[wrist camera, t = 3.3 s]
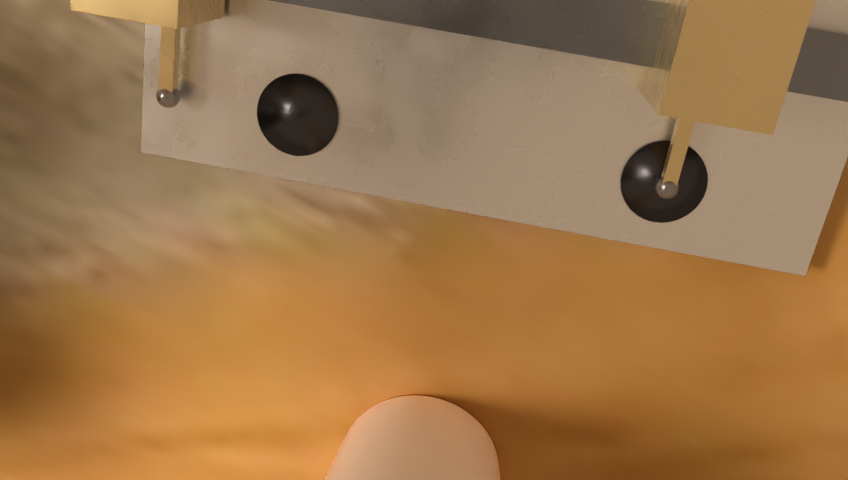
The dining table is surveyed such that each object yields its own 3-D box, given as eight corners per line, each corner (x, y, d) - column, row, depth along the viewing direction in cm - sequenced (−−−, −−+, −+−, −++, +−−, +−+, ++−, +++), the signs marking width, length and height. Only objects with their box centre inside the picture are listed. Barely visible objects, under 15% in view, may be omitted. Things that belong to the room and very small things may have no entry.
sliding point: (216, 113, 35) (171, 138, 31) (128, 97, 36) (69, 119, 31) (232, -106, 32) (184, -114, 28) (135, -122, 33) (71, -133, 28)
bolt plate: (794, 263, 37) (852, 329, 30) (154, 144, 38) (82, 184, 32) (889, -10, 33) (979, 1, 26) (166, -132, 34) (85, -150, 28)
